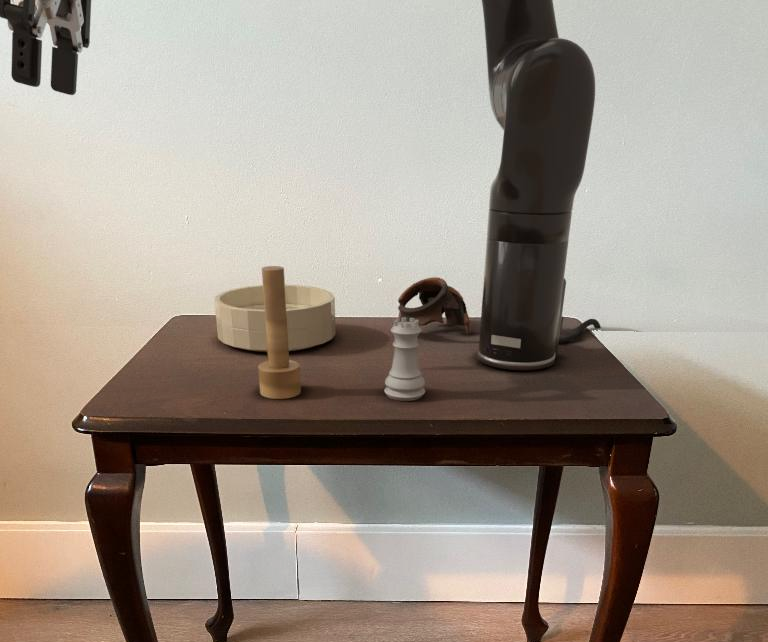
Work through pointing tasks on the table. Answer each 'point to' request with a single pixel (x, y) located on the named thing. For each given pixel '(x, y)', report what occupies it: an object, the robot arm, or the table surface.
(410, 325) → the rook chess piece
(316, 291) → the bowl
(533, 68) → the robot arm
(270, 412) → the table surface
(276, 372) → the muddler
